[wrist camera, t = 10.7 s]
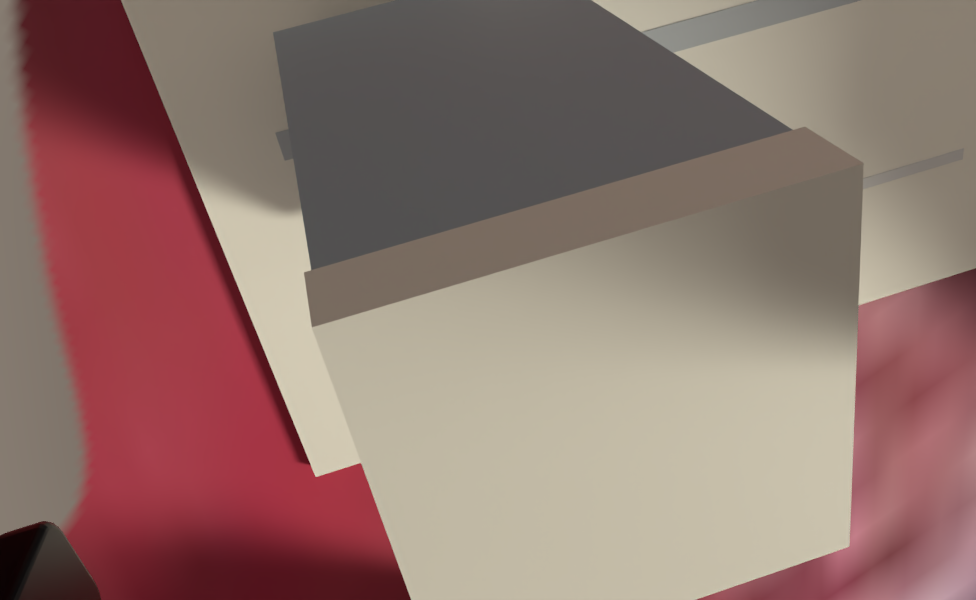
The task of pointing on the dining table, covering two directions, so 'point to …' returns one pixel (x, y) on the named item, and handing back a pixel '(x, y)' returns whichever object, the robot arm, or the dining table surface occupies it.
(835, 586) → the dining table surface
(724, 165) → the marker block
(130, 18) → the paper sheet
